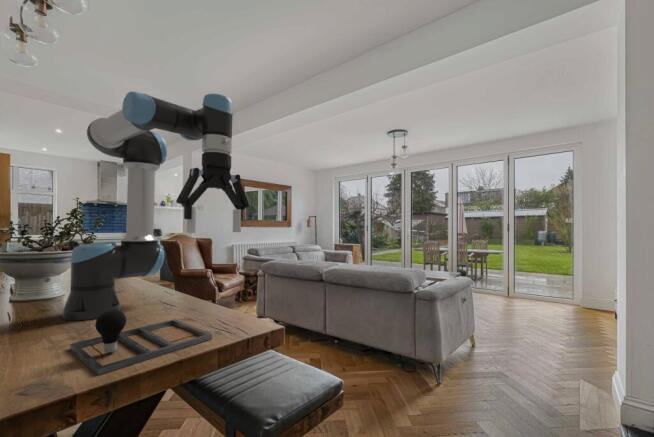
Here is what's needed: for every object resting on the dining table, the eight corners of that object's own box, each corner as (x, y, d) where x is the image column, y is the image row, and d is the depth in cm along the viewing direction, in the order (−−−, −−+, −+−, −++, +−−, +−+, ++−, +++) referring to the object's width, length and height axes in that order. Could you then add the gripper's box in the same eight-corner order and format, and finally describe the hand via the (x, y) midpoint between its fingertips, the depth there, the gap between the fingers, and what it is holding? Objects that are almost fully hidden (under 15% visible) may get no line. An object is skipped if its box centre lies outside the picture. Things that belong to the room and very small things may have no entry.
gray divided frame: (69, 349, 73) (69, 344, 73) (174, 323, 93) (174, 319, 93) (97, 375, 61) (98, 369, 61) (212, 338, 80) (212, 334, 80)
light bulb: (101, 361, 67) (102, 315, 67) (89, 354, 70) (91, 310, 70) (130, 351, 72) (131, 309, 72) (118, 346, 75) (119, 305, 75)
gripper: (177, 141, 70) (175, 233, 70) (262, 160, 90) (260, 232, 90) (162, 146, 75) (160, 232, 74) (245, 163, 95) (244, 231, 94)
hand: (215, 232), depth 82 cm, fingers open, 13 cm apart
